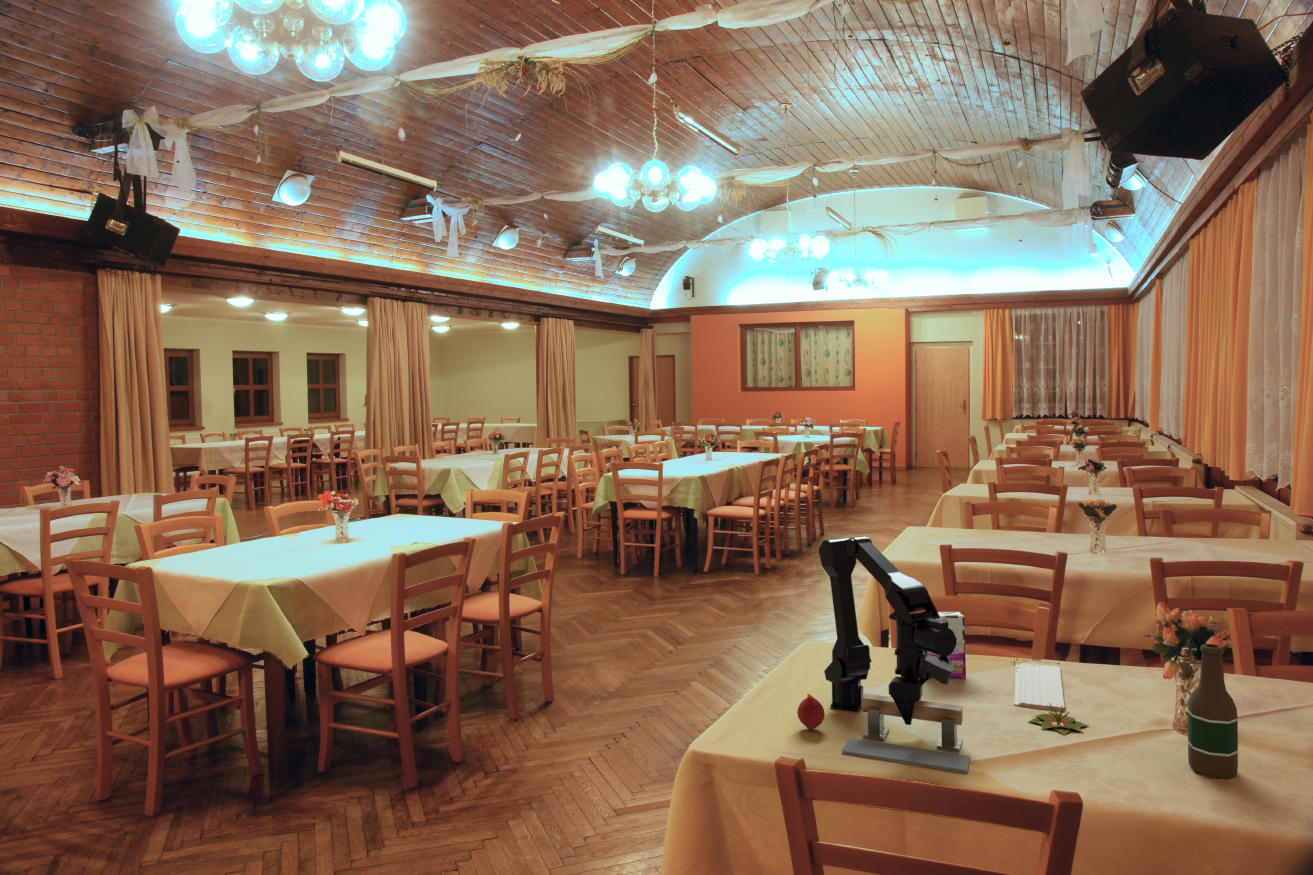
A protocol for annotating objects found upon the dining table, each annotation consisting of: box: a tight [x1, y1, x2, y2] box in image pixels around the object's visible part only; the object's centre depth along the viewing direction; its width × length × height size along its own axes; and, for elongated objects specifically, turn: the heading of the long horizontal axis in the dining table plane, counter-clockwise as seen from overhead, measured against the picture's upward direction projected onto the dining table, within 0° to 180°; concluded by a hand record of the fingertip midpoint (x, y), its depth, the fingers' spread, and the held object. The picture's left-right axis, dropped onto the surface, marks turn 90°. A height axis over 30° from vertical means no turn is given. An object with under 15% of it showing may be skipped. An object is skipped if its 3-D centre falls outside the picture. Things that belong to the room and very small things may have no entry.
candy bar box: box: [916, 611, 967, 679], centre depth 209 cm, size 11×5×16 cm, turn 82°
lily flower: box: [1029, 703, 1091, 735], centre depth 176 cm, size 12×12×5 cm
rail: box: [862, 693, 964, 726], centre depth 170 cm, size 20×3×3 cm, turn 64°
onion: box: [796, 693, 825, 731], centre depth 177 cm, size 6×6×8 cm
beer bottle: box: [1187, 643, 1239, 781], centre depth 152 cm, size 8×8×24 cm
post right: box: [936, 718, 963, 753], centre depth 167 cm, size 4×6×6 cm
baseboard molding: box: [1010, 658, 1065, 712], centre depth 200 cm, size 31×3×12 cm
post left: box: [862, 708, 890, 741], centre depth 174 cm, size 4×6×6 cm
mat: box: [841, 737, 971, 774], centre depth 162 cm, size 24×7×1 cm, turn 64°
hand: (911, 716), depth 170 cm, fingers open, 9 cm apart
